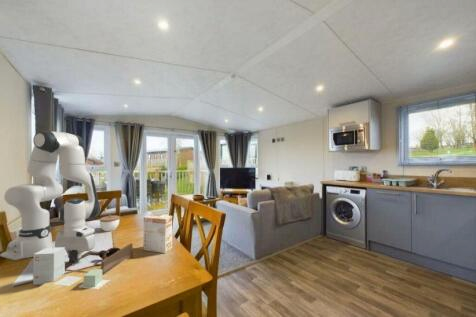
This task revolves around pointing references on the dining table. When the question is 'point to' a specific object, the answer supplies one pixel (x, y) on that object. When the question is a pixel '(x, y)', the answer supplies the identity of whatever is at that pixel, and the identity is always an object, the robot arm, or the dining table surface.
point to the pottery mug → (104, 254)
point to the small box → (48, 265)
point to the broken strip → (71, 280)
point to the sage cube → (93, 278)
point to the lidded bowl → (109, 222)
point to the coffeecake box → (157, 233)
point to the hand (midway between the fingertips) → (74, 257)
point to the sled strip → (106, 263)
